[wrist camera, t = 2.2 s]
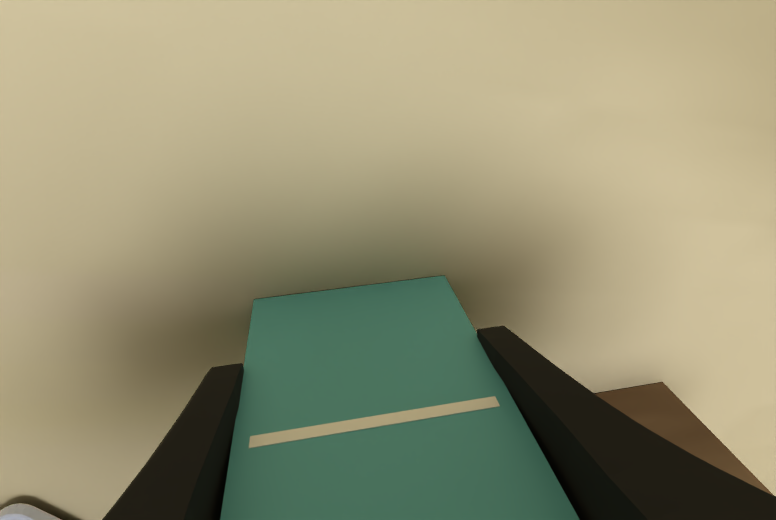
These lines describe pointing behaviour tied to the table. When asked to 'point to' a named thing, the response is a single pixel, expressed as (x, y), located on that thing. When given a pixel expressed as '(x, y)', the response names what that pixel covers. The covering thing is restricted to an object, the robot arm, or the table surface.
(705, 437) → the domino
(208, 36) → the table surface
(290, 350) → the domino
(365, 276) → the table surface
